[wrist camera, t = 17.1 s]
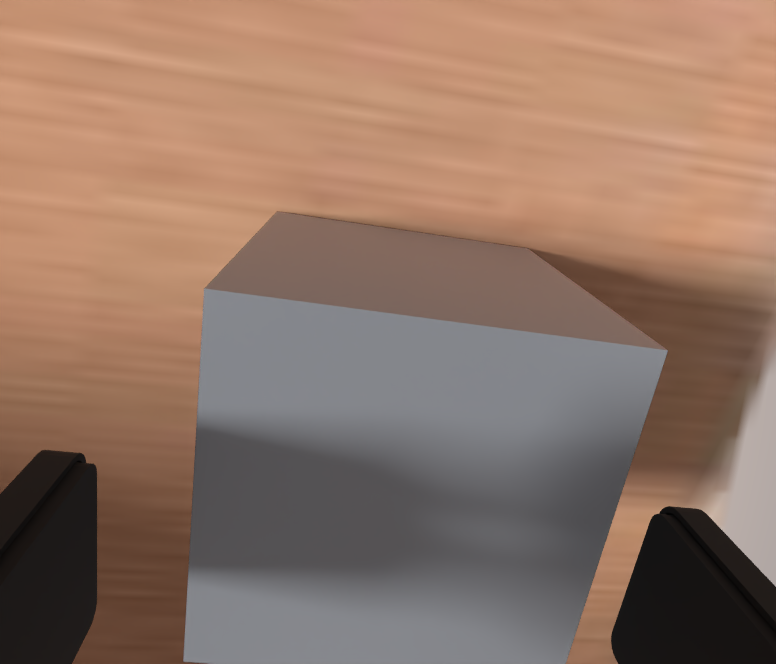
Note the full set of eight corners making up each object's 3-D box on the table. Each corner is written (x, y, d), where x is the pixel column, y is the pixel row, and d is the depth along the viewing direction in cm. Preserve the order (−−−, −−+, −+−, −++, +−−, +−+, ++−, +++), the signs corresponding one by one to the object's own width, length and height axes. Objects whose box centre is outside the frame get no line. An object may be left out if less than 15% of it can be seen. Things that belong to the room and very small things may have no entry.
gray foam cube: (477, 464, 21) (557, 690, 12) (255, 439, 20) (183, 661, 12) (527, 248, 18) (668, 350, 10) (277, 211, 18) (204, 288, 9)
